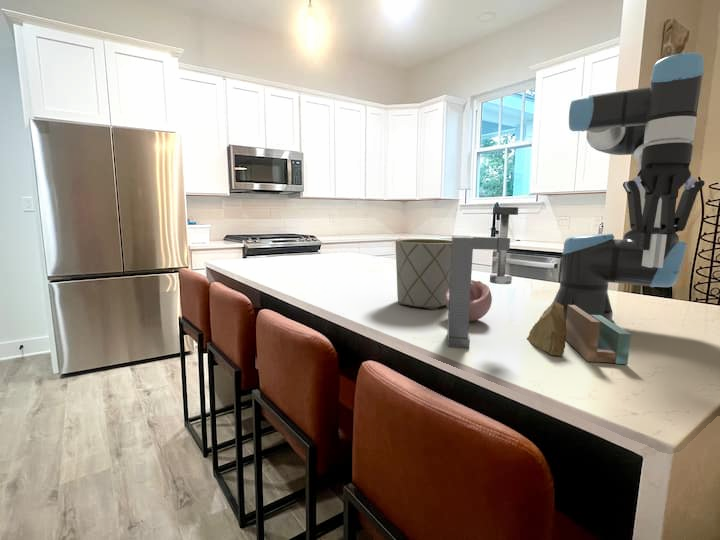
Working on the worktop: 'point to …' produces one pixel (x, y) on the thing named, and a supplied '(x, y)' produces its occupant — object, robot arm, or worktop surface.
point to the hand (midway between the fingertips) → (651, 266)
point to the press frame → (465, 284)
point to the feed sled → (596, 337)
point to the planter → (423, 271)
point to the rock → (550, 330)
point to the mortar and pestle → (476, 300)
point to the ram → (500, 276)
